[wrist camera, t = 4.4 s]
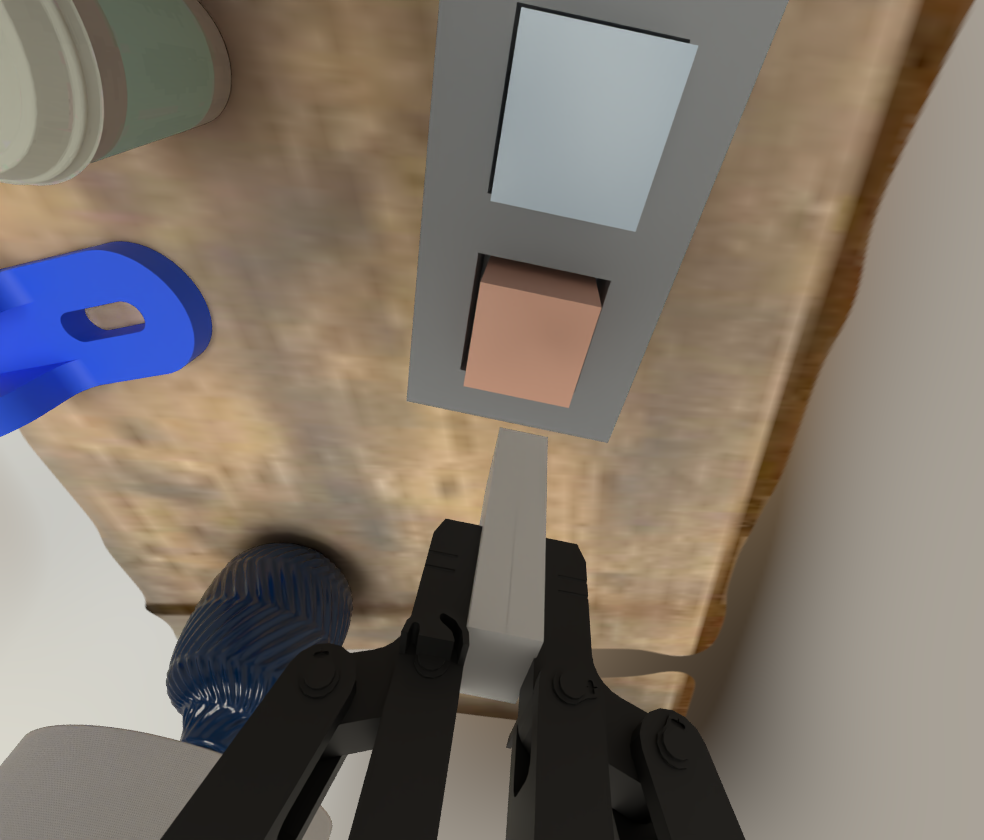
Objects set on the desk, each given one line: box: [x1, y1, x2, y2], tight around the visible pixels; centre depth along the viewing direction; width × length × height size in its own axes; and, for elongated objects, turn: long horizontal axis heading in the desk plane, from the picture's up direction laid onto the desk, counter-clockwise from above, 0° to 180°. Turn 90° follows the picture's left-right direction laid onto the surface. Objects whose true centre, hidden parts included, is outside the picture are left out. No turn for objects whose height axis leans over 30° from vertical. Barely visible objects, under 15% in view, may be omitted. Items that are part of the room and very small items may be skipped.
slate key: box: [490, 7, 698, 232], centre depth 17 cm, size 5×5×4 cm
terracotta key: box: [464, 256, 602, 408], centre depth 24 cm, size 5×5×4 cm
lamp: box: [0, 543, 353, 840], centre depth 32 cm, size 20×20×37 cm
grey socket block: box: [407, 0, 789, 443], centre depth 21 cm, size 30×12×5 cm, turn 170°
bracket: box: [0, 241, 212, 437], centre depth 29 cm, size 18×8×9 cm, turn 103°
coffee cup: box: [0, 0, 231, 185], centre depth 18 cm, size 8×8×12 cm
